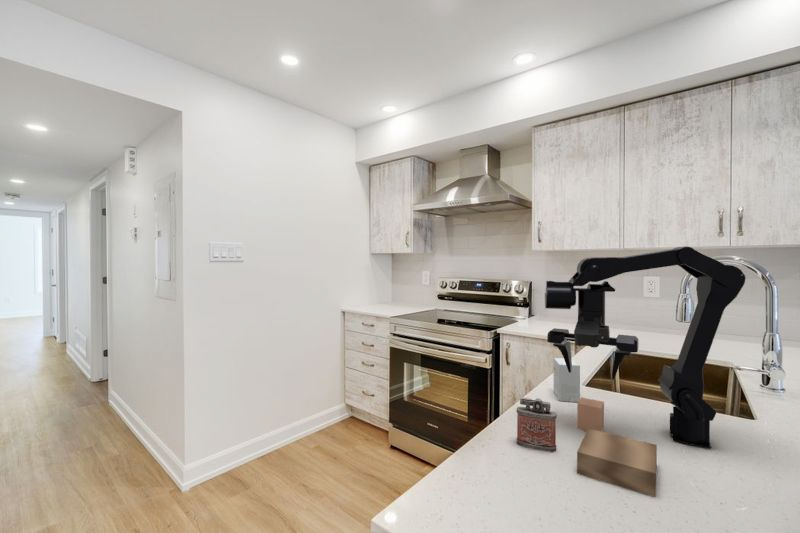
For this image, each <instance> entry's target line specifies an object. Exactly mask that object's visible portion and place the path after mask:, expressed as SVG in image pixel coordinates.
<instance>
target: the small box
mask: <svg viewBox="0 0 800 533" xmlns="http://www.w3.org/2000/svg"><path fill="white" fill-rule="evenodd" d="M571 361H572V370H571V373H569V371H568V369H567V366H566V363H565V360H564V357H562V358H561V357H553V361H552V362H553V393H554V395H555V396H556V398H557V400H559V402H568V401H569V402H572V403H578V402H579V400H580V398H581V365H580V364H579V363H577V362H576V360H575V359H573V358H571ZM569 402H568V403H569Z"/></svg>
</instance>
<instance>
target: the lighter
mask: <svg viewBox="0 0 800 533" xmlns="http://www.w3.org/2000/svg"><path fill="white" fill-rule="evenodd" d="M519 404H520V405H521V406H517V407H516V413H517V414H516V415H517V416H516V417H517V421H516V422H517V424H516V425H517V426H516V427H517V430H516V431H517V432H516V433H517V434H516V438H515V440H516V445H518V446H520V447H523V448H526V449H531V450H536V451H540V452H548V453H549V452H550V453H554V452H555V453H556V451H557V444H556V442H557V441H556V432H557V428H556V426H557V425H556V424H557V423H556V422H557V421H556V420H557V416H558V414H557V412H555V411H551V402H549V401H543V400H542V398H538V397H537V398H535V399H532V398H529V397H523V396H522V397H520V398H519ZM522 405H523V406H522Z"/></svg>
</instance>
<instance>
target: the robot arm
mask: <svg viewBox="0 0 800 533" xmlns="http://www.w3.org/2000/svg"><path fill="white" fill-rule="evenodd" d="M674 266H679V267H680V269H682V270H683V271H685V272H686V273H688V274H689V275H690V276H692V277H693V278H696V280H697V281H696V288H695V289H696V297H697V298H696V299H697V304H696V307H695V309H694V312H693V315H692V318H691V321H690V323H689V326H688V328H687V332H686V335H685V338H684V340H683V344H682V346H681V349H680V353H679V355H678V358H677V360H676V361H675V362H674V363H673V364H672V365H671V366H668V365H666V364H663V366H662V373H661V375H660V376H659V378H658V379H657V381H658V382H659V383H660V384H659V388H660V391H661V392H662V394H663V395H664V396H665V397H666V398H667V399H669V402H670V404H671V405H672V412H670V413H669V434H670V435H671V436H672V437H671V438H672V441H674V442H678V443H681V444H686V445H689V446H695V447H699V448H703V449H707V450H711V449H712V445H711V442H710V441H711V440H710V436H711V435H710V434H711V433H710V432H711V430H710V429H711V427H710V426H711V423H710V422H712V421H714V418H715V417H716V414H717V411H716V410H715V409H714V408H713V407H712V406H711V405H710V404H709V403H707V402H706V400H704V390H705V382H704V380H705V379H704V372H703V371H704V366H705V365H706V361H707V359H708V356H709V353H710V350H711V348H712V345H713V342H714V340H715V336H716V334H717V331H718V328H719V327H720V326H719V325H720V324H721V321H722V317H723V314H724V311H725V309H726V308H727V307H728V306H729V305H730V304H731V303H732V302H733V301H734V300H735V299H736V298H737V297H738V295H739V294H740V292H741V291H742V288H743V287H744V285H745V283H746V278H747V277H746V274H744V272H743V270H742V269H741V268H739V267H737V266H735V265H729V264H725V263H722V262H721V261H718V259H714V258H713V257H710V256H708V255H705V254H703V253H701V252H699V251H697V250H696V249H695V248H693V247H691V246H677V247H674V248H672V249H666V250H660V251H653V252H646V253H645V252H644V253H640V254H634V255H626V256H620V257H618V256H614V257H611V256H610V257H609V256H606V257H605V256H604V257H603V256H600V257H599V256H597V257H596V256H594V257H586V258H583V259H581V260H580V261H579V262H578V264H577V265H576V272H575V273H574V275H572V277H570V279H569V280H568V281H553V280H546V281H545V282H546V283H545V284H546V285H545V292H544V307H545V308H544V309H546V310H547V309H550V310H551V309H552V310H554V309H555V310H571V308H572V307H574V306H576V304H577V322H576V324H575V328H574V330H573V333H571V332H570V331H569V329H565V328H555V327H554V328H552V329H551V330H549V331H548V332H547V336H546V338H547V343H550V344H551V343H552V346H553V347H556V348H558V350H559V351H560V354H561V355H562V358H564V360H565V363H566V366H567V369H568V371H569V373H571V370H572V361H571V359H572V348H571V342H574V345H576V346H577V347H578V346H579V347H582V346H585V347H590V348H598V347H599V346H600V345H603V346H605V345H606V346H613V347H616V349H615V351H614V357H613V358H614V359H613V365H612V371H611V379H612V380H615V378H616V375H617V373H618V370H619V368H620V365H621V363H622V361H623V359H624V358H625V356H631V355H632V353H634V354H635V353H638V351H639V338H638V337H637V336H635V335H627V334H617V337H610V336H611V335H610V327H609V325H606V292H607V293H609V292H613V293H614V292H616V288H614V287H613V286H612V285H610V283H609V281H607V280H608V279H611V278H614V277H616V276H618V275H619V276H620V275H621V274H625V273H632V272H637V271H645V270H646V271H647V270H651V269H659V268H667V267H674ZM601 281H603V282H602V283H601V284H600V283H599V284H598V282H601ZM590 282H591V283H590ZM585 285H587V287H583V286H585ZM581 287H582V288H581Z"/></svg>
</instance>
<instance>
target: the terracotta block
mask: <svg viewBox="0 0 800 533" xmlns="http://www.w3.org/2000/svg"><path fill="white" fill-rule="evenodd" d="M576 403H577V405H576V406H577V408H576V409H577V414H576V417H577V418H576V419H577V420H576V422H577V423H576V425H577V427H576V428H577V430H582V431H587V429H593V430H597V431H601V432H603V430H604V427H605V401H603V400H596V399H591V398H586V397H583V396H582V397H581V396H580V400H579V402H576Z"/></svg>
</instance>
